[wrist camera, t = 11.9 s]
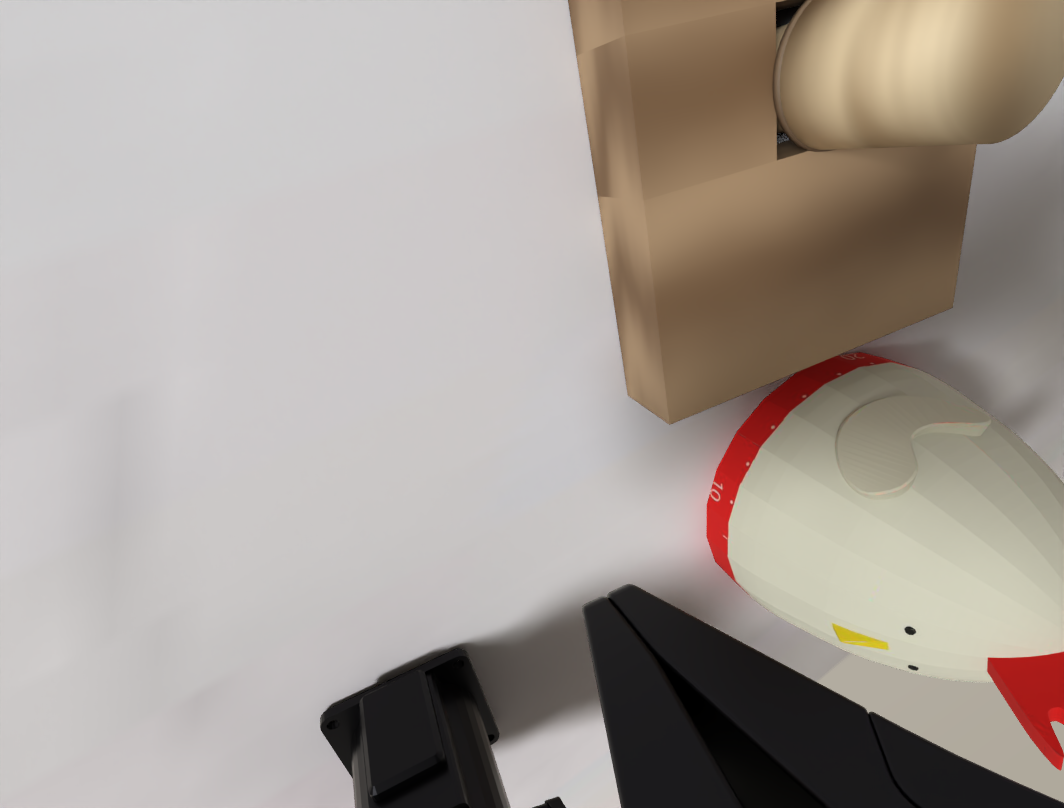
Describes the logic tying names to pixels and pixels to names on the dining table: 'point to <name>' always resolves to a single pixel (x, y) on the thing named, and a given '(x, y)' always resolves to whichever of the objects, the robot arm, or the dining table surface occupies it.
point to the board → (746, 208)
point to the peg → (915, 71)
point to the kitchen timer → (901, 530)
